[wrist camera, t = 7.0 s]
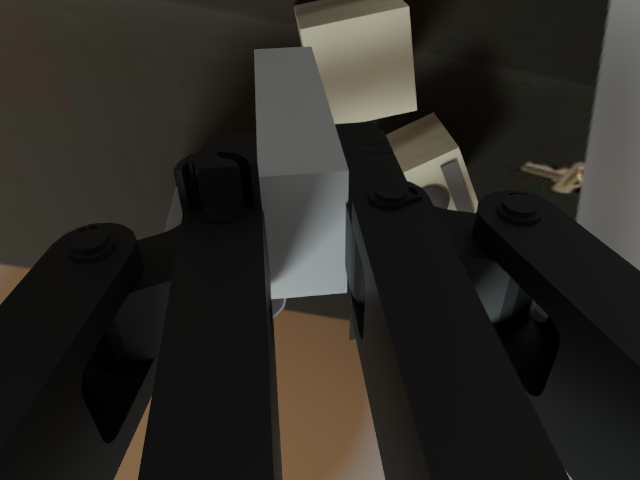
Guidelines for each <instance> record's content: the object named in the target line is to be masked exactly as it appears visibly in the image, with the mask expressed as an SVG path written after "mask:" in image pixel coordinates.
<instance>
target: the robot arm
mask: <svg viewBox="0 0 640 480" xmlns="http://www.w3.org/2000/svg"><path fill="white" fill-rule="evenodd" d="M254 64H255V99H256V131H245V132H229V133H214V134H213V135H212V136H211V137H210V138H209V139H208V140H207V141H206V142H205V143H204V144H203V145H202V151H200V152H197V153H195V154H192V155H189V156H187V157H186V158H184V159H183V160H181V161H180V162H179V163H178V164H177V166H176V167H175V169H174V176H175V180H176V185H177V190H178V195H179V199H180V204H181V209H182V214H183V215H182V221H181V224H180V225H178V226H176V227H175V228H173V229H171V230H169V231H166V232H164V233H161V234H158V235H155V236H151V237H148V238H144V239H140V240H136V237H135V235H134V232H133V231H132V230H130V229H129V228H127V227H126V226H124V225H120V224H115V223H96V224H90V225H88V226H83V227H79V228H77V229H75V230H73V231H71V232H69V233H67V234H65V235H63V236H62V237H61V238H60V239H58V240H57V241H56V242H55V243H54V244H52V246H51V247H50V248H49V249H48V250H47V251H46V252H45V254H44V255H43V256H42V257H41V258H40V259H39V261H38V262H37V263H36V264H35V265H34V266H33V268H32V269H31V270H30V271H29V272H28V273H27V275H26V276H25V277H24V278H23V279H22V280H21V281H20V283H19V284H18V285H17V286H16V287H15V288H14V290H13V291H12V292H11V293H10V294H9V296H8V297H7V298H6V299H5V300H4V301H3V302H2V304H1V305H0V480H113V479H114V478H115V475H116V473H117V471H118V468H119V467H120V464H121V462H122V460H123V458H124V456H125V453H126V451H127V449H128V447H129V445H130V442H131V440H132V438H133V436H134V434H135V431H136V429H137V427H138V425H139V423H140V420H141V418H142V416H143V414H144V412H145V409H146V407H147V405H148V403H149V400H150V398H151V396H152V399H151V405H150V411H149V417H148V423H147V429H146V435H145V441H144V447H143V453H142V459H141V464H140V471H139V476H138V480H282V465H281V447H280V430H279V411H278V395H277V394H278V393H277V377H276V359H275V341H274V323H273V311H272V301H271V299H280V298H291V297H303V296H314V295H326V294H337V293H347V277H348V282H349V286H350V338H349V339H350V340H353V339H355V337H356V342H357V347H358V352H359V356H360V361H361V366H362V370H363V375H364V380H365V385H366V390H367V394H368V399H369V403H370V408H371V413H372V418H373V423H374V428H375V432H376V437H377V442H378V447H379V451H380V456H381V460H382V465H383V470H384V475H385V480H570V479H569V477H568V475H567V473H568V474H569V475H570V477H571V478H572V479H573V480H640V271H639V270H638V269H637V268H635V267H634V266H633V265H631V264H630V263H629V262H627V261H626V260H625V259H624V258H622V257H621V256H620V255H618V254H617V253H616V252H614V251H613V250H612V249H610V248H609V247H608V246H607V245H605V244H604V243H603V242H601V241H600V240H599V239H598V238H596V237H595V236H594V235H592V234H591V233H590V232H588V231H587V230H586V229H584V228H583V227H582V226H581V225H579V224H578V223H577V222H576V221H574V220H573V219H572V218H570V217H569V216H568V215H567V214H565V213H564V212H563V211H561V210H560V209H559V208H557V207H556V206H555V205H554V204H552V203H550V202H549V201H547V200H545V199H543V198H542V197H540V196H537V195H533V194H530V193H528V192H524V191H516V190H507V191H497V192H493V193H491V194H488V195H486V196H484V197H483V198H482V199H481V200H480V201H479V202H478V206H477V211H476V213H473V212H464V211H456V210H449V209H444V208H439V207H436V206H434V205H433V203H432V201H431V199H430V197H429V195H428V194H427V193H426V192H425V191H424V190H423V188H421V187H420V186H418V185H416V184H414V183H412V182H409V181H407V180H406V178H405V175H404V173H403V171H402V169H401V167H400V165H399V162H398V160H397V158H396V156H395V154H394V152H393V149H392V147H391V145H389V141H388V139H387V136H386V134H385V132H384V131H383V130H382V129H380V128H379V127H377V126H376V125H374V124H373V123H372V122H358V123H343V124H335V123H334V120H333V117H332V113H331V110H330V107H329V103H328V100H327V97H326V93H325V90H324V87H323V83H322V80H321V77H320V73H319V70H318V67H317V63H316V60H315V57H314V53H313V50H312V47H311V46H309V47H290V48H272V49H254ZM536 303H537V304H538V305H539V306H540V307H541V308H542V309H543V310H544V311H545V312H546V313H547V314H548V315H549V316H548V318H547V319H546V318H545V317H544V316H542V315H541V314H540V313H539V312H538V311H537V310H536V309H535V305H536ZM565 470H566V471H565ZM566 472H567V473H566Z"/></svg>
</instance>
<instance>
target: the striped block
mask: <svg viewBox="0 0 640 480" xmlns="http://www.w3.org/2000/svg"><path fill="white" fill-rule="evenodd" d="M386 136H387V139H388V141H389V145H391V147H392V149H393V152H394V154H395V156H396V158H397V160H398V162H399V165H400V167H401V169H402V171H403V173H404V175H405V178H406V180H407V181H409V182H412V183H414V184H416V185H418V186H420V187H421V188H423V190H424V191H425V192H426V193H427V194H428V195H429V197H430V199H431V201H432V203H433V205H434V206H436V207H439V208H444V209H449V210H456V211H464V212H473V213H476V211H477V206H478V201H477V198H476V195H475V192H474V189H473V186H472V184H471V181H470V178H469V175H468V172H467V169H466V166H465V163H464V160H463V158H462V155H461V152H460V149H459V147H458V145H457V144H456V143H455V141H454V140H453V138H452V137H451V136H450V134H449V133H448V131H447V130H446V129H445V127H444V126H443V124H442V123H441V122H440V120H439V119H438V118H437V116H436V115H435V113H434V112H433V113H431V114H429V115H427V116H425V117H423V118H420V119H418V120H416V121H414V122H412V123H410V124H408V125H406V126H403V127H401V128H399V129H397V130H395V131H393V132H391V133H389V134H386Z"/></svg>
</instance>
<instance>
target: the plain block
mask: <svg viewBox="0 0 640 480" xmlns="http://www.w3.org/2000/svg"><path fill="white" fill-rule="evenodd" d="M294 10H295V15H296V20H297V25H298V30H299V36H300V41H301V46H302V47H309V46H311V47H312V50H313V53H314V57H315V60H316V63H317V67H318V70H319V73H320V77H321V80H322V83H323V87H324V90H325V93H326V97H327V100H328V103H329V107H330V110H331V113H332V117H333V120H334V123H335V124H343V123H358V122H365V121H369V120H374V119H379V118H384V117H389V116H393V115H398V114H403V113H408V112H412V111H417V102H416V89H415V76H414V63H413V50H412V37H411V23H410V10H409V6H408V5H407V4H406V3H405V2H404V1H403V0H318V1H314V2H309V3H304V4H300V5H295V6H294Z"/></svg>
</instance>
